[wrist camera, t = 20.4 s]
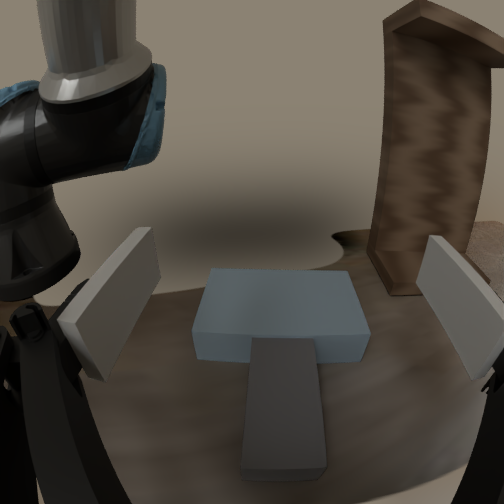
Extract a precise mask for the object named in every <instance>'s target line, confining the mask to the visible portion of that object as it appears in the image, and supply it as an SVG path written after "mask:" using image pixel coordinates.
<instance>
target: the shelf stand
mask: <svg viewBox="0 0 504 504" xmlns="http://www.w3.org/2000/svg"><path fill="white" fill-rule="evenodd" d="M383 33H384V62H385V86H384V88H385V89H384V117H383V134H382V147H381V157H380V167H379V177H378V184H377V192H376V199H375V206H374V213H373V219H372V225H371V230H370V236H369V241H368V247H367V253H368V255H369V257H370V259H371V260H372V262H373V264H374V266H375V268H376V269H377V271H378V273H379V275H380V277H381V279H382V281H383V283H384V284H385V286H386V288H387V290H388V292H389V294H390V295H423V293H422V292H421V290H420V289H419V287H418V286H417V284H416V280H417V277H418V274H419V271H420V268H421V264H422V261H423V257H424V254H425V250H426V246H427V243H428V239H429V235H436V236H442V237H443V238H444V239H445V240H446V241H447V242H448V243H449V244H450V245H451V246H452V247H453V248H454V249H455V250H456V251H457V252H458V253H459V254H460V255H461V256H462V257H463V258H464V259H465V260H466V261H467V262H468V263H469V264H470V265H471V266H472V267H473V269H474V270H475V271H476V272H477V273H478V274H479V275H480V276H481V277H482V278H483V280H484V281H485V282H486V283H487V284H488V285H489V283H490V279H489V278H488V277H487V276H486V275H485V274H484V273H483V272H482V271H481V270H480V269H479V267H478V266H477V265H476V264H475V263H474V262H473V261H472V260H471V259H470V258H469V257H468V256H467V255H466V254H465V252H466V249H467V246H468V242H469V239H470V235H471V232H472V228H473V225H474V220H475V217H476V213H477V208H478V204H479V200H480V195H481V189H482V185H483V179H484V173H485V167H486V160H487V152H488V144H489V134H490V120H491V119H490V118H491V68H504V38H502V37H501V36H499V35H497V34H496V33H494V32H492V31H491V30H489V29H487V28H485V27H484V26H482V25H480V24H478V23H476V22H474V21H472V20H470V19H468V18H466V17H464V16H462V15H460V14H458V13H456V12H454V11H452V10H449V9H447V8H445V7H442V6H440V5H438V4H435V3H433V2H429V1H427V0H413V1H412V2H410V3H409V4H407V5H406V6H404V7H402V8H401V9H399V10H398V11H396V12H395V13H393V14H392V15H390V16H389V17H387V18H386V19H384V20H383Z"/></svg>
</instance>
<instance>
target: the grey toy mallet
mask: <svg viewBox="0 0 504 504" xmlns="http://www.w3.org/2000/svg"><path fill="white" fill-rule="evenodd" d="M191 332H192V337H193V342H194V347H195V352H196V356H197V359H200V360H211V361H225V362H242V363H250V366H249V377H248V389H247V400H246V411H245V422H244V433H243V444H242V455H241V465H240V470H241V476H242V480H247V481H307V480H318V479H319V477H320V476H321V475H322V473H323V472H324V471H325V469H326V468H327V458H326V445H325V434H324V424H323V414H322V404H321V395H320V387H319V378H318V370H317V364H319V363H345V362H361V359H362V357H363V354H364V351H365V349H366V346H367V343H368V341H369V338H370V335H371V332H370V330H369V327H368V324H367V321H366V318H365V316H364V313H363V310H362V308H361V305H360V302H359V300H358V297H357V294H356V292H355V289H354V287H353V284H352V282H351V279H350V277H349V274H348V272H347V271H319V270H267V269H228V268H212V269H211V272H210V275H209V278H208V281H207V284H206V287H205V290H204V293H203V296H202V299H201V302H200V305H199V309H198V312H197V315H196V318H195V321H194V324H193V327H192V330H191Z"/></svg>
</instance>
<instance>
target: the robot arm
mask: <svg viewBox="0 0 504 504" xmlns="http://www.w3.org/2000/svg"><path fill="white" fill-rule="evenodd" d="M37 7H38V15H39V22H40V28H41V34H42V40H43V45H44V50H45V55H46V59H47V63H48V69H47V71H46V72H45V74H44V76H43V77H42V79H41V81H40V82H39V81H35V80H31V81H24V82H20V83H17V84H14V85H13V86H11V87H5V88H3V89H1V90H0V300H2V301H15V300H21V299H24V298H28V297H31V296H33V295H36V294H38V293H40V292H42V291H44V290H46V289H48V288H50V287H51V286H53V285H55V284H56V283H57V282H59V281H60V280H62V279H63V278H64V277H65V276H66V275H68V274H69V273H70V271H72V270H73V269H74V267H75V266H76V265H77V263H78V261H79V259H80V255H81V252H80V248H79V245H78V241H77V238H76V236H75V234H74V232H73V231H72V230H70V229H69V226H68V224H67V222H66V220H65V218H64V216H63V214H62V213H61V211H60V210H59V207H58V206H57V204H56V201H55V197H54V193H53V187H52V184H54V183H58V182H62V181H67V180H72V179H77V178H82V177H87V176H92V175H98V174H103V173H109V172H115V171H125V170H127V169H129V168H132V167H136V166H141V165H145V164H149V163H150V162H152V161H153V160H155V158H156V157H157V155H158V154H159V151H160V148H161V143H162V136H163V127H164V116H165V115H164V114H165V109H164V106H165V98H166V71H165V67H164V66H163V65H159V64H155V63H152V55H151V52H150V50H149V49H148V48H147V47H145V46H144V45H142V44H141V43H139V42H138V41H136V0H37ZM160 278H161V276H160V270H159V265H158V260H157V254H156V248H155V243H154V237H153V231H152V227H137V228H136V229H135V230H134V231H133V232H132V233H131V234H130V235H129V236H128V238H127V239H125V241H124V242H123V243H122V244H121V245H120V246H119V247H118V248H117V249H116V250H115V251H114V252H113V253H112V254H111V256H110V257H109V258H108V259H107V260H106V261H105V262H104V263H103V265H102V266H101V267H100V268H99V269H98V270H97V272H96V273H95V274H94V275H93V276H92V277H91V278H90V279H86V280H85V281H83V282H82V283H80V284H79V285H77V287H76V288H75V289H74V290H73V291H72V292H71V295H69V296H68V297H67V298H66V299H65V302H63V303H62V304H61V305H60V307H59V308H58V309H57V310H56V312H55V313H54V314H53V315H52V317H51V318H50V319H49V320H47V318H46V316H45V314H44V312H43V310H42V307H41V305H39V304H38V303H33V302H31V303H27V304H24V305H22V306H20V307H19V308H18V309H16V310H15V311H14V312H13V314H12V315H11V317H10V320H9V322H10V324H11V326H12V327H13V329H14V331H15V333H16V334H17V336H14V337H11V336H10V334H9V332H8V331H7V329H6V328H5V327H4V326H0V504H39V502H38V492H37V480H38V484H39V487H40V490H41V494H42V497H43V500H44V503H45V504H132V503H131V502H130V500H129V498H128V496H127V494H126V492H125V490H124V488H123V487H122V485H121V483H120V481H119V479H118V477H117V474H116V472H115V470H114V468H113V466H112V464H111V461H110V459H109V457H108V455H107V452H106V450H105V448H104V445H103V443H102V440H101V438H100V435H99V432H98V430H97V427H96V424H95V421H94V419H93V416H92V413H91V410H90V407H89V404H88V401H87V397H86V394H85V391H84V387H83V384H82V380H81V379H80V377H79V375H78V374H79V372H80V370H81V369H82V368H83V369H84V371H85V373H86V374H87V376H88V378H91V379H95V380H99V381H102V382H106V381H107V379H108V377H109V375H110V373H111V371H112V369H113V367H114V365H115V363H116V361H117V358H118V357H119V355H120V353H121V351H122V349H123V347H124V345H125V343H126V341H127V339H128V337H129V335H130V333H131V331H132V329H133V327H134V326H135V324H136V322H137V320H138V318H139V316H140V314H141V312H142V311H143V309H144V307H145V305H146V303H147V302H148V300H149V298H150V296H151V294H152V293H153V291H154V289H155V287H156V285H157V284H158V282H159V280H160ZM416 284H417V286H418V287H419V289H420V290H421V292H422V293H423V295H424V297H425V298H426V300H427V301H428V303H429V305H430V306H431V308H432V309H433V311H434V313H435V314H436V316H437V318H438V319H439V321H440V323H441V324H442V326H443V328H444V330H445V331H446V333H447V335H448V337H449V338H450V340H451V342H452V344H453V346H454V348H455V349H456V351H457V353H458V355H459V357H460V359H461V361H462V363H463V365H464V367H465V369H466V371H467V373H468V375H469V377H470V379H471V381H472V380H476V379H479V378H482V377H484V376H485V375H486V374H487V372H488V371H489V370H490V368H491V367H493V369H494V370H495V372H494V373H493V375H492V376H491V377H490V379H489V380H488V381H487V383H486V384H485V385H484V387H483V388H482V390H481V392H483V391H484V390H485V389H486V388H487V387H489V390H488V391H487V392H486V394H488V395H487V400H486V404H485V409H484V413H483V417H482V421H481V425H480V428H479V432H478V435H477V439H476V442H475V445H474V448H473V451H472V454H471V457H470V460H469V462H468V465H467V468H466V470H465V473H464V475H463V478H462V480H461V483H460V485H459V487H458V489H457V492H456V494H455V496H454V498H453V500H452V502H451V504H504V302H503V301H501V298H500V297H499V296H498V295H497V293H496V292H495V291H493V290H492V289H491V288H490V286H489V285H488V284H487V283H486V282H485V281H484V280H483V278H482V277H481V276H480V275H479V274H478V273H477V272H476V271H475V270H474V269H473V267H472V266H471V265H470V264H469V263H468V262H467V261H466V260H465V259H464V258H463V257H462V256H461V255H460V254H459V253H458V252H457V251H456V250H455V249H454V248H453V247H452V246H451V245H450V244H449V243H448V242H447V241H446V240H445V239H444V238H443V237H442V236H436V235H429V239H428V243H427V246H426V250H425V254H424V257H423V261H422V264H421V268H420V271H419V274H418V277H417V280H416ZM4 379H5V380H6V381H7V383H8V384H9V385H8V389H6V388H5V387H4ZM36 477H37V480H36Z"/></svg>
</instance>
